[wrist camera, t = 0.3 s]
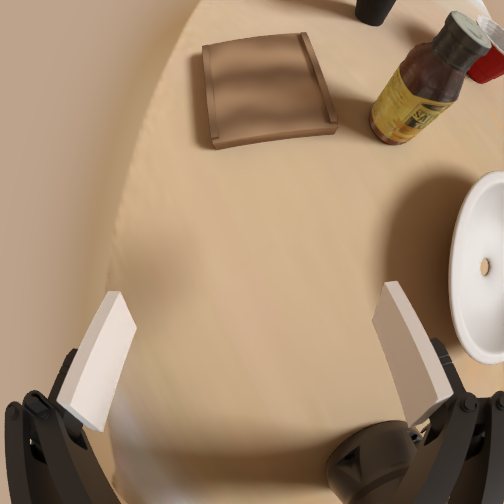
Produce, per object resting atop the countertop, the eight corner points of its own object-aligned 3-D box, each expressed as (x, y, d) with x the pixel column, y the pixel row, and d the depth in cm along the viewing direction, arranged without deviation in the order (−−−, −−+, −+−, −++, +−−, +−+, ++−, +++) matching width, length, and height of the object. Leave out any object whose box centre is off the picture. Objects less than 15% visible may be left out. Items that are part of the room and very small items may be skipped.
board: (334, 134, 29) (338, 124, 26) (216, 150, 30) (211, 141, 28) (304, 41, 29) (305, 30, 27) (206, 54, 30) (201, 43, 28)
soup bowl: (444, 382, 28) (468, 401, 21) (391, 224, 29) (417, 218, 22) (533, 294, 26) (558, 298, 19) (494, 160, 27) (520, 149, 20)
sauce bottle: (387, 155, 29) (483, 66, 9) (357, 114, 29) (419, 0, 9) (420, 136, 28) (511, 57, 8) (391, 98, 28) (459, 1, 9)
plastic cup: (447, 38, 27) (473, 3, 15) (489, 68, 26) (519, 41, 14) (450, 73, 27) (484, 35, 15) (495, 106, 26) (533, 79, 14)
